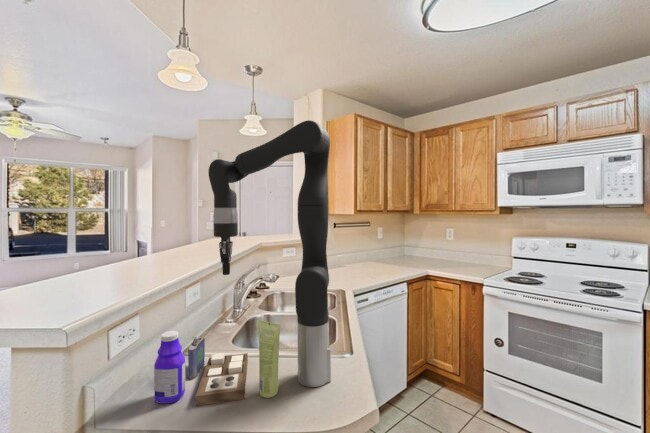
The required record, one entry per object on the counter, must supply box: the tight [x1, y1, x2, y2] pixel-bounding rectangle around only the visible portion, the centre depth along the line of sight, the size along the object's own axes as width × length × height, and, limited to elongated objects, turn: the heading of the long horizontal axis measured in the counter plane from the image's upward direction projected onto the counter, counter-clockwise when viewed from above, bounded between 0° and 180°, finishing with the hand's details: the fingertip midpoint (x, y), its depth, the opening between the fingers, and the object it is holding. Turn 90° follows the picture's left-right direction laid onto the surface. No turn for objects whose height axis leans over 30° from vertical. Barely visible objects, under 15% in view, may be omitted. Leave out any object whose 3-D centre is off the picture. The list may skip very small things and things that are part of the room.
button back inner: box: [231, 354, 243, 362], centre depth 92 cm, size 4×4×2 cm
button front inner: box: [228, 361, 242, 374], centre depth 86 cm, size 4×4×2 cm
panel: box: [195, 352, 249, 407], centre depth 85 cm, size 12×20×3 cm, turn 13°
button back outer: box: [211, 352, 226, 365], centre depth 91 cm, size 4×4×2 cm
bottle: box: [153, 330, 186, 404], centre depth 77 cm, size 7×6×17 cm
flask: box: [187, 336, 206, 380], centre depth 90 cm, size 9×3×11 cm, turn 4°
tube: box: [257, 319, 281, 399], centre depth 79 cm, size 6×5×20 cm
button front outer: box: [207, 367, 222, 377], centre depth 85 cm, size 4×4×2 cm
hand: (226, 274), depth 95 cm, fingers closed
